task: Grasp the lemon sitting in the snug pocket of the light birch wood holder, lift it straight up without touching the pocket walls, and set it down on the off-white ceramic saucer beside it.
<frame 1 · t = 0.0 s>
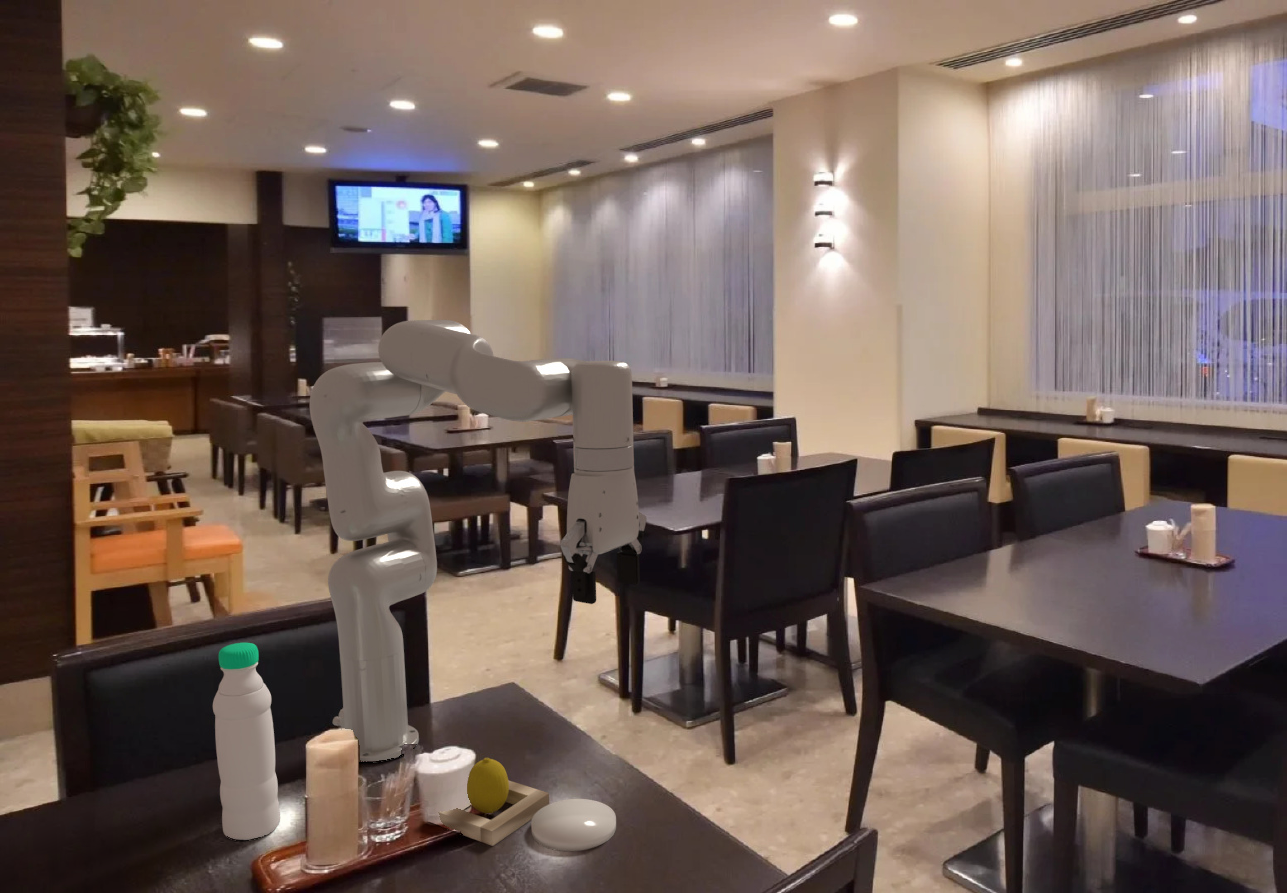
hand: (607, 592, 125), 31 cm above the table, tool pointing down, fingers open, 9 cm apart
holder: (489, 814, 131), on the table
water bottle: (252, 830, 129), on the table
saucer: (574, 828, 127), on the table
lemon: (489, 816, 131), resting in holder
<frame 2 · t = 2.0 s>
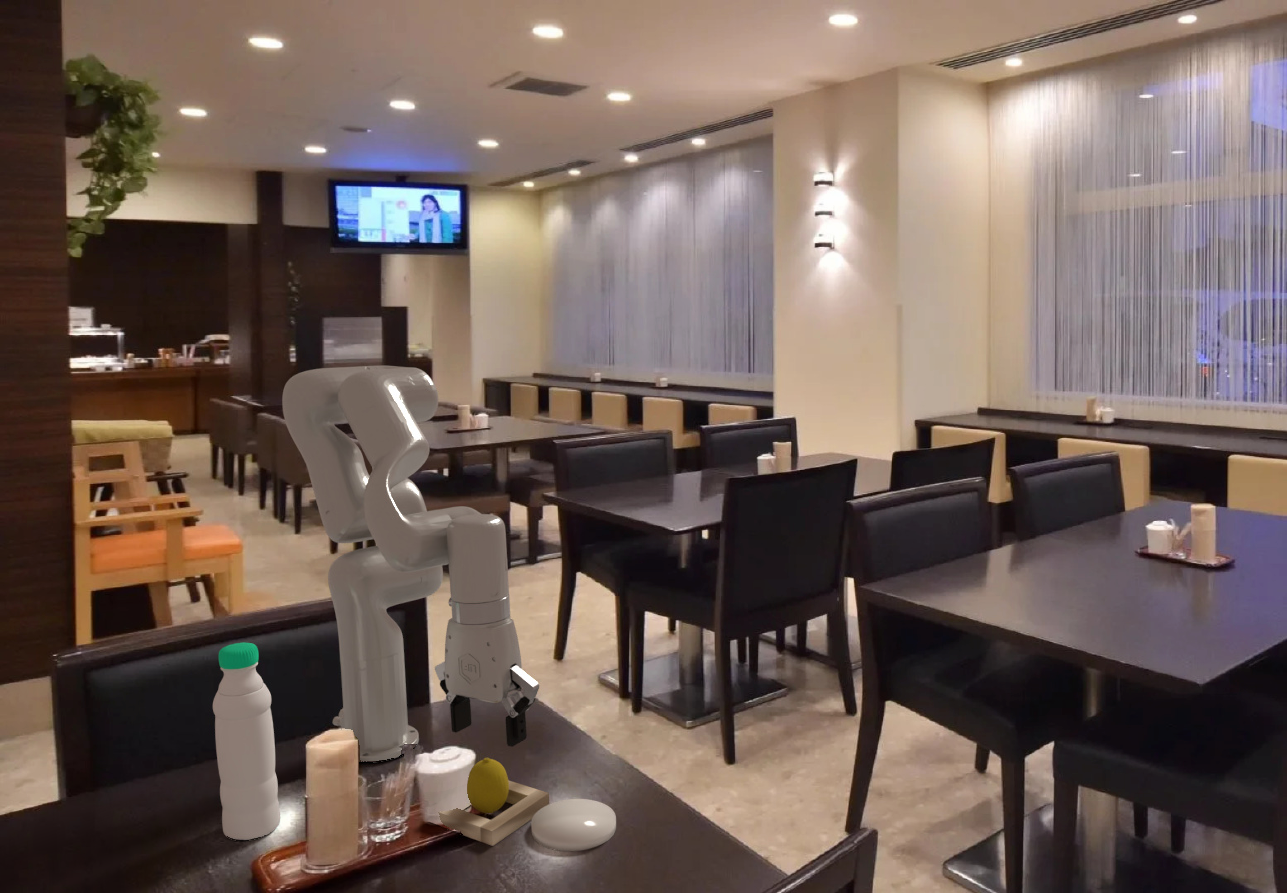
hand: (488, 735, 129), 11 cm above the table, tool pointing down, fingers open, 9 cm apart
nothing on the table moved.
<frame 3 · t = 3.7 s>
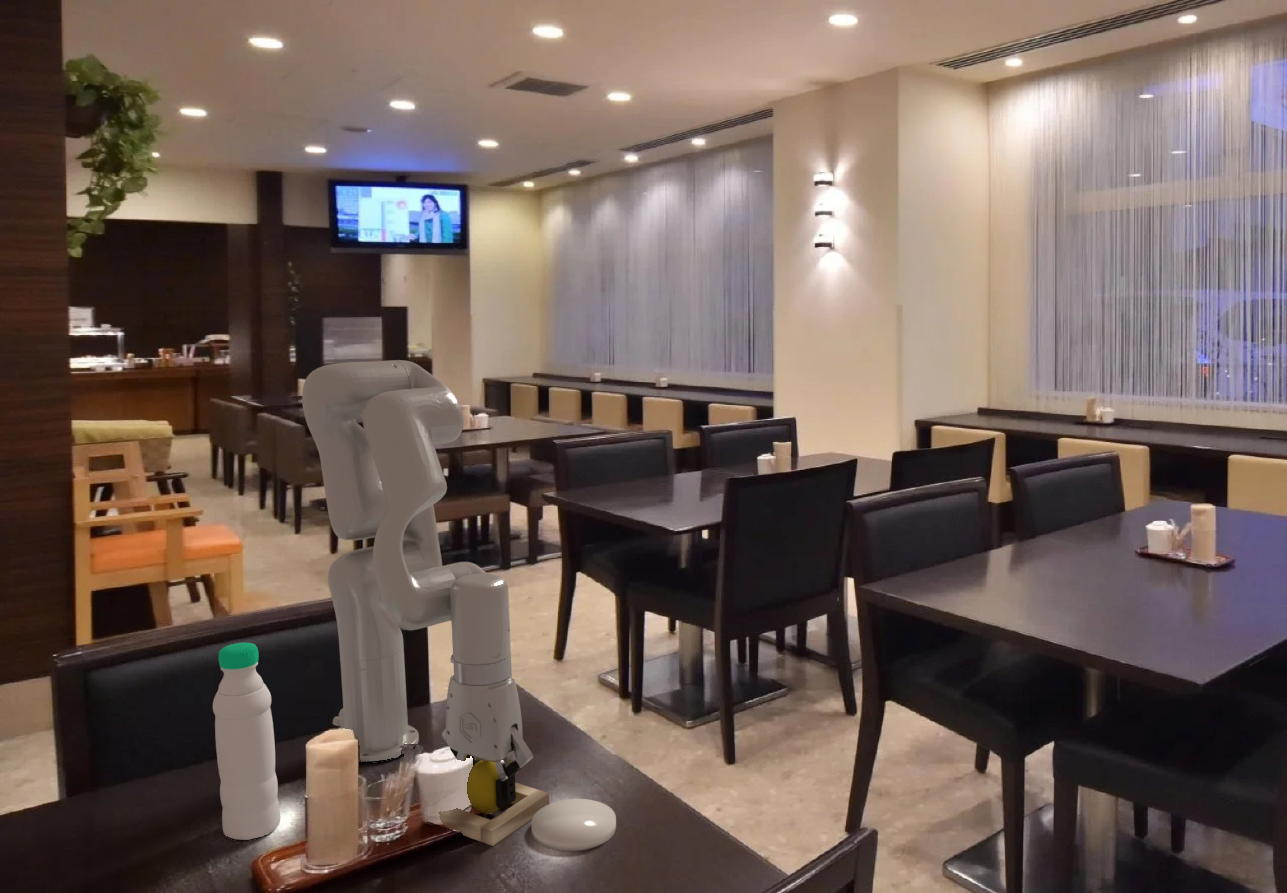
hand: (488, 796, 131), 3 cm above the table, tool pointing down, fingers closed on lemon, 5 cm apart
lemon: (489, 816, 131), resting in holder, touching gripper
everything else where it was.
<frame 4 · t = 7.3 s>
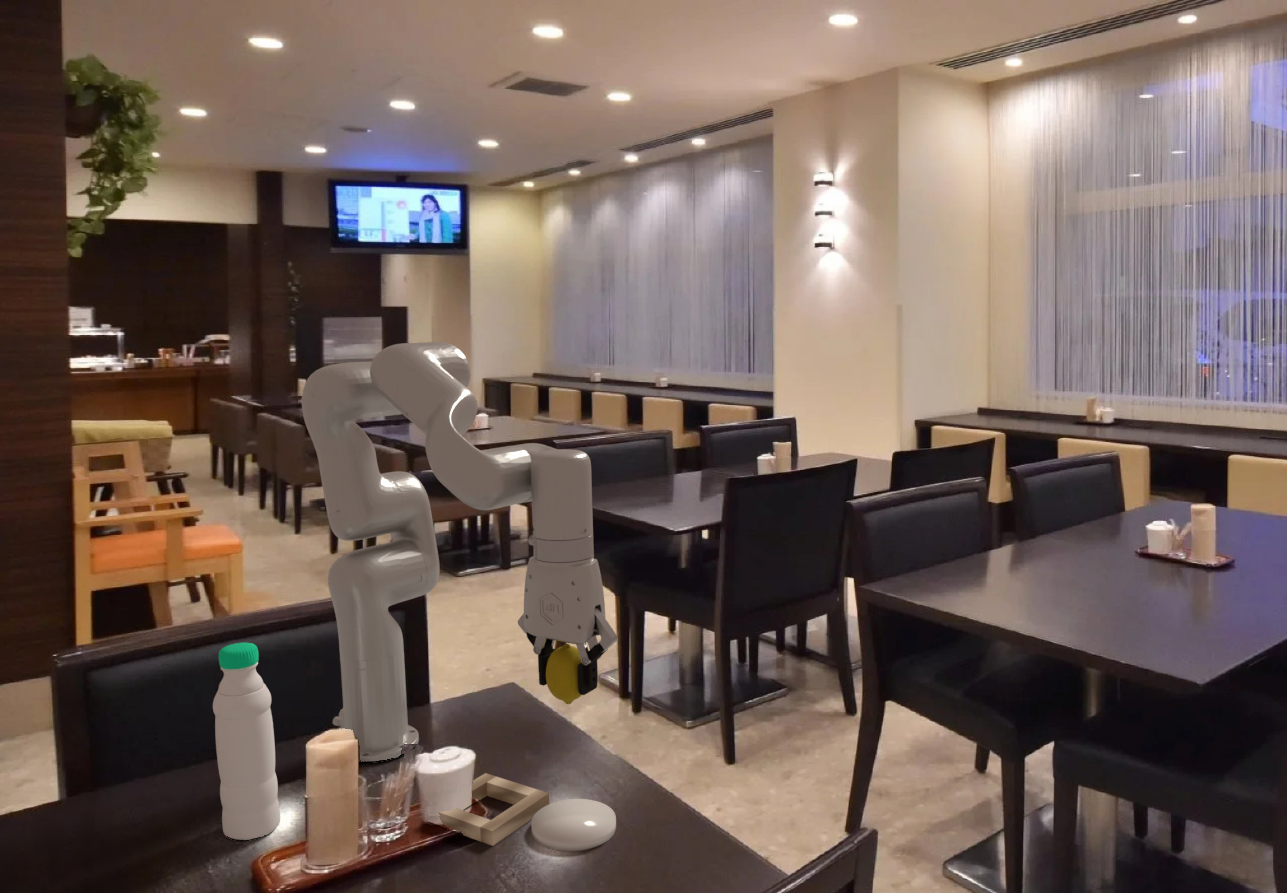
hand: (568, 685, 125), 19 cm above the table, tool pointing down, fingers closed on lemon, 5 cm apart
lemon: (568, 705, 125), point 17 cm above the table, touching gripper
everything else where it was.
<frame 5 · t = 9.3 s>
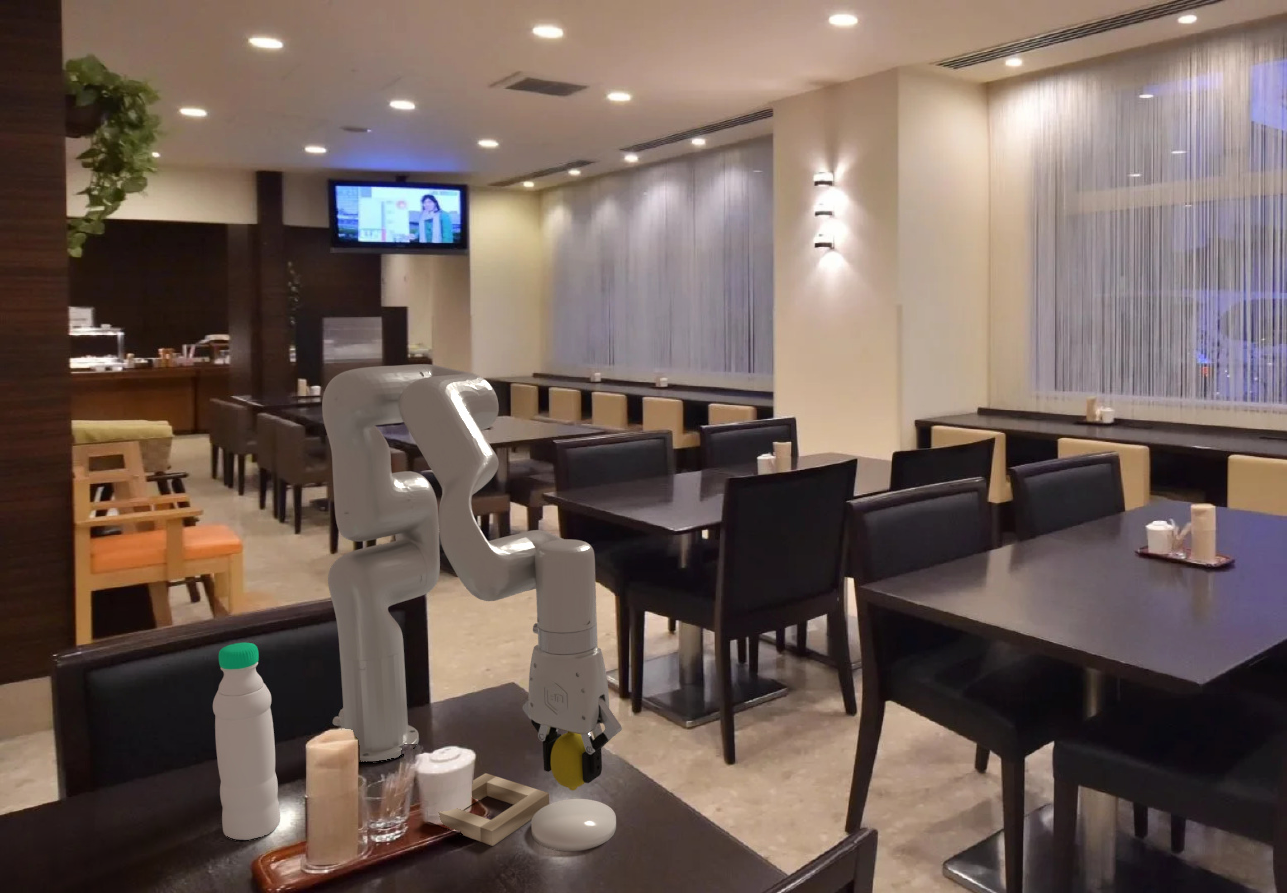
hand: (572, 771, 126), 8 cm above the table, tool pointing down, fingers closed on lemon, 5 cm apart
lemon: (573, 791, 126), point 5 cm above the table, touching gripper
everything else where it was.
when the fingers open (5 cm above the table, at t = 10.9 s): lemon stays where it is, resting on saucer.
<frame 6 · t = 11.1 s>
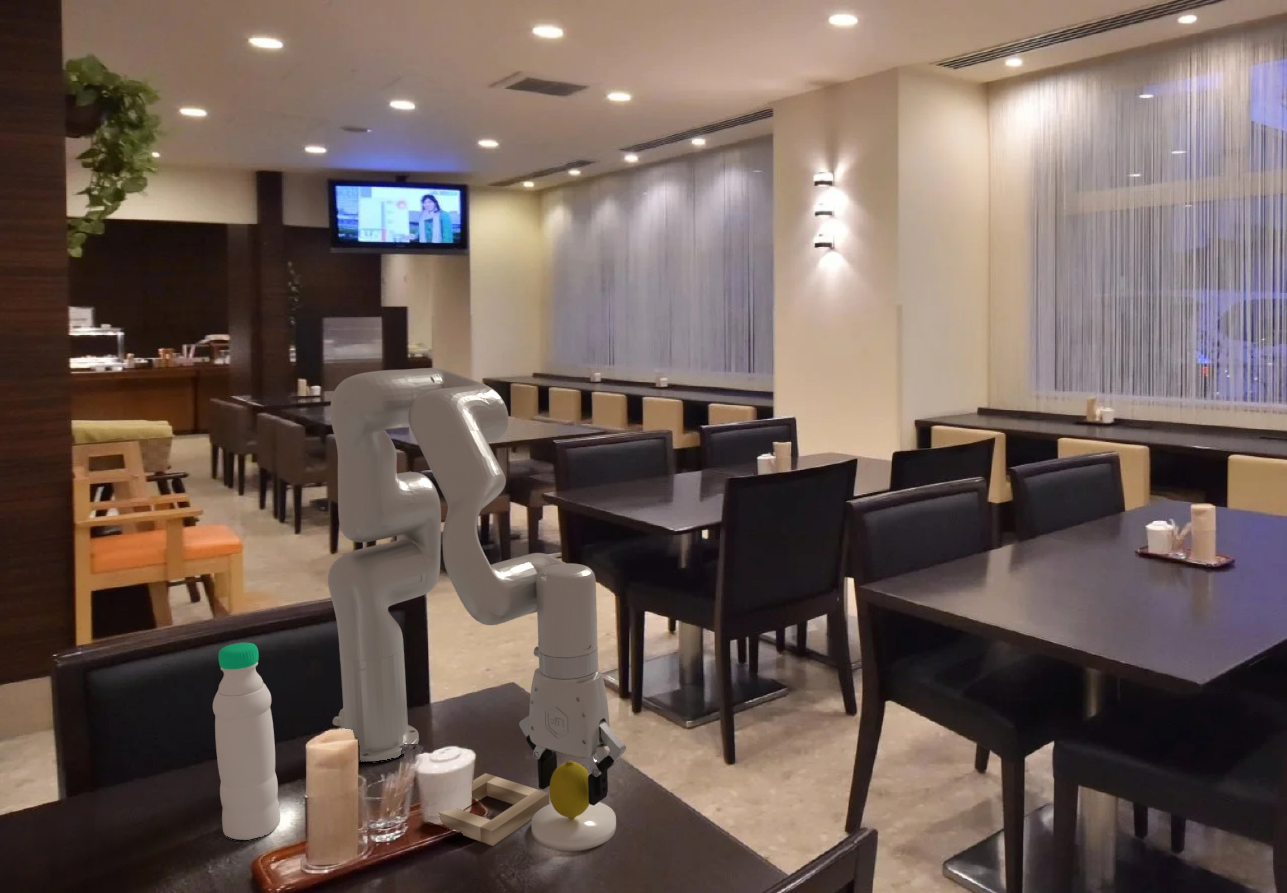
hand: (572, 791, 127), 5 cm above the table, tool pointing down, fingers open, 7 cm apart
lemon: (571, 820, 127), point 1 cm above the table, touching saucer
everything else where it was.
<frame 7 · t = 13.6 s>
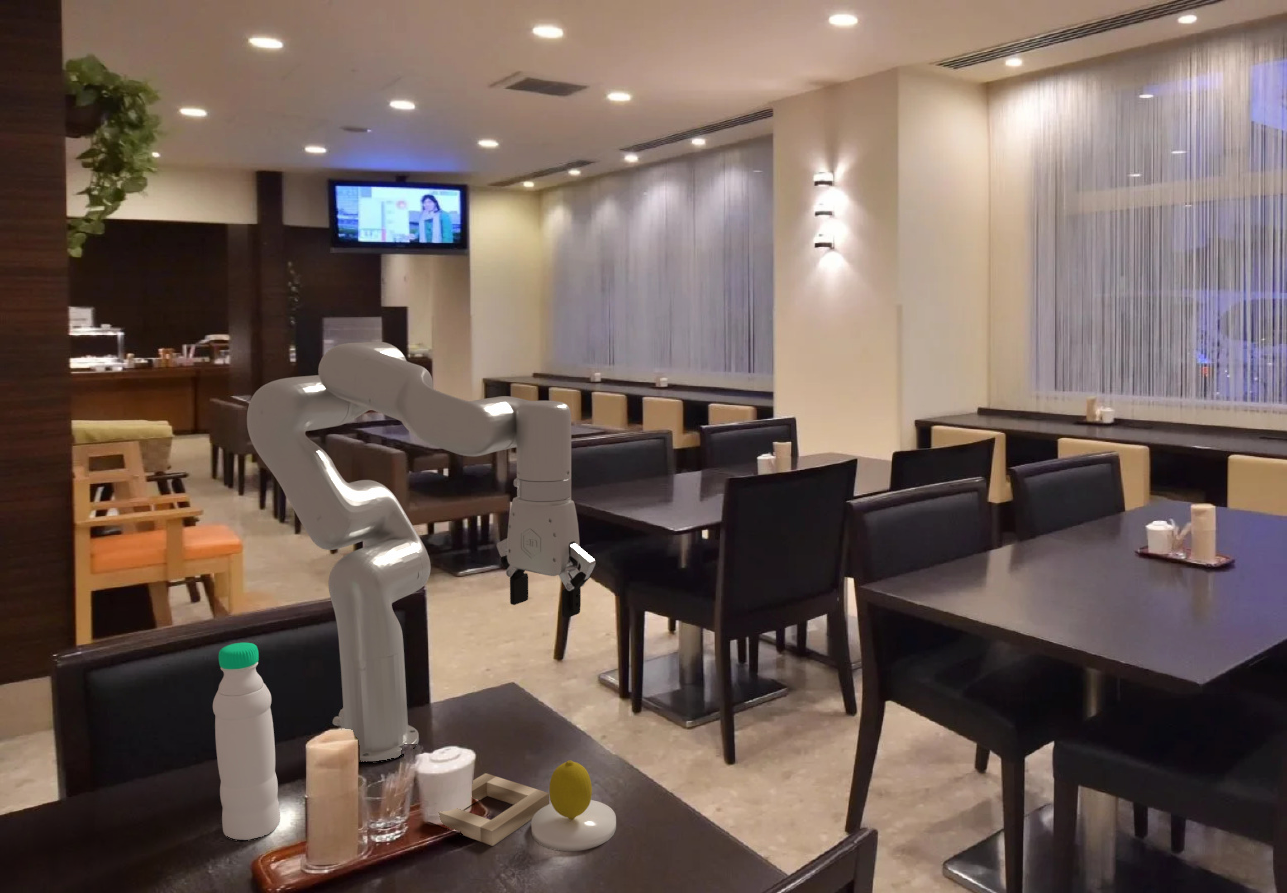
hand: (544, 608, 138), 25 cm above the table, tool pointing down, fingers open, 9 cm apart
nothing on the table moved.
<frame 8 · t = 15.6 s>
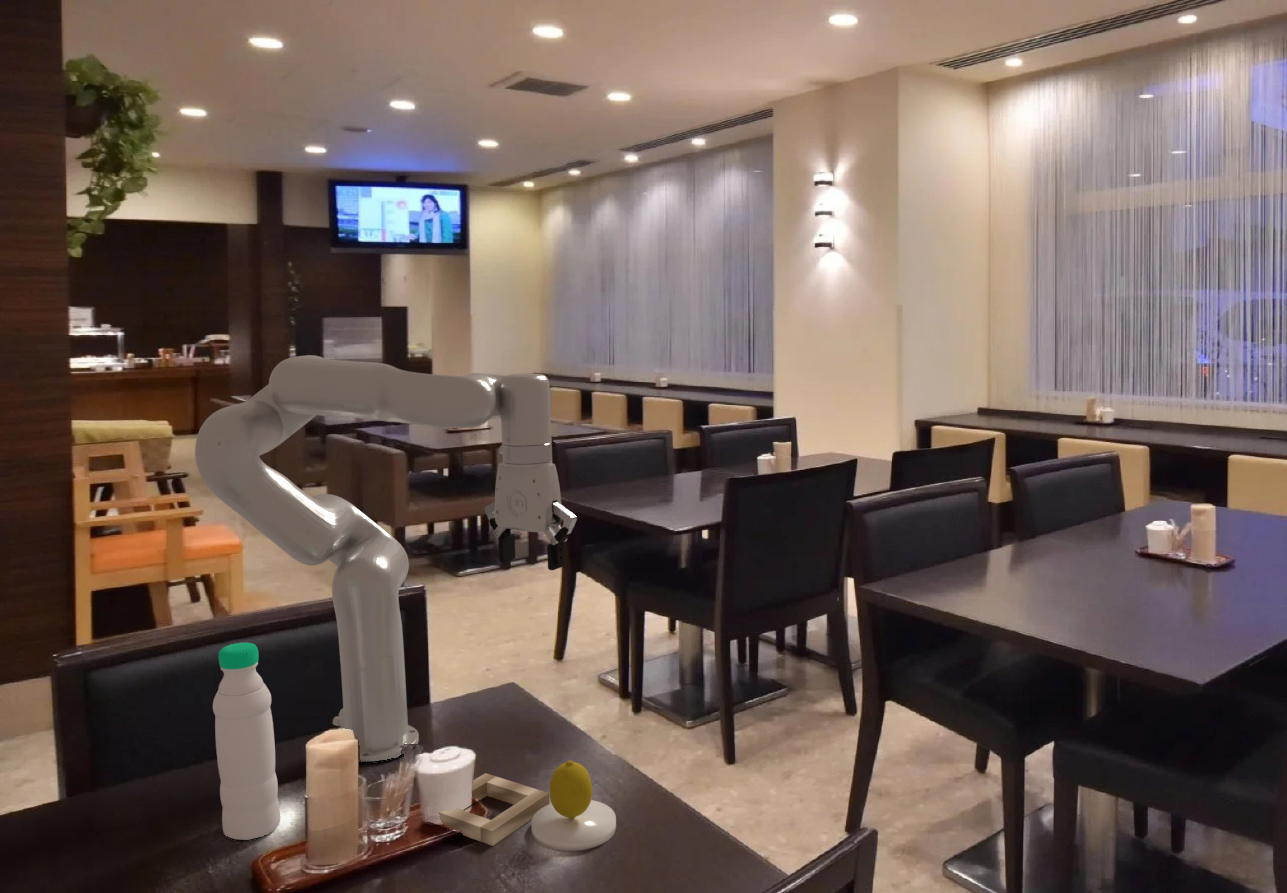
hand: (531, 564, 151), 28 cm above the table, tool pointing down, fingers open, 9 cm apart
nothing on the table moved.
at the end: lemon 0.3 cm from the saucer (horizontally); lemon touching saucer; the gripper is holding nothing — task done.
